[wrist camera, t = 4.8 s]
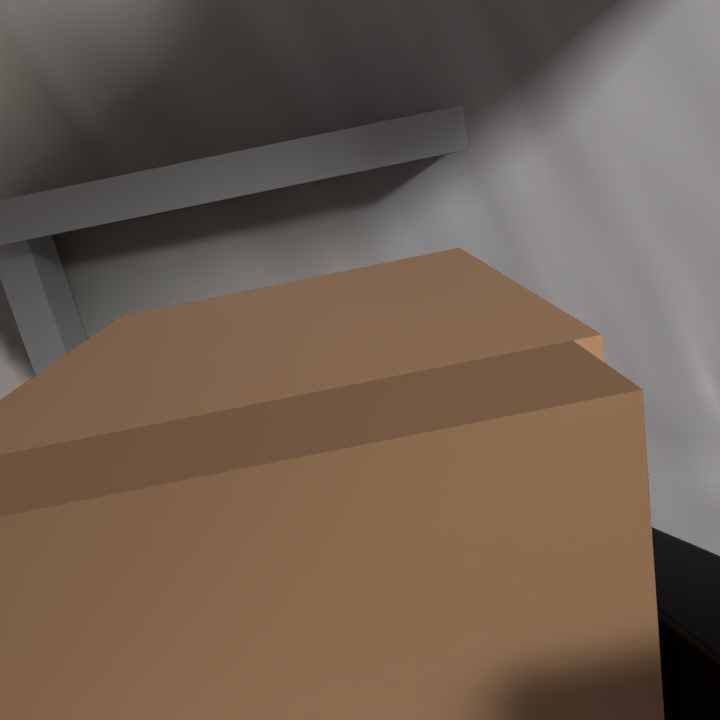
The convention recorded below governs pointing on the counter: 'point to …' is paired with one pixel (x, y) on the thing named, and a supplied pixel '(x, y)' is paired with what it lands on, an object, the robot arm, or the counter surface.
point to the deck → (179, 190)
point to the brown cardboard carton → (331, 511)
